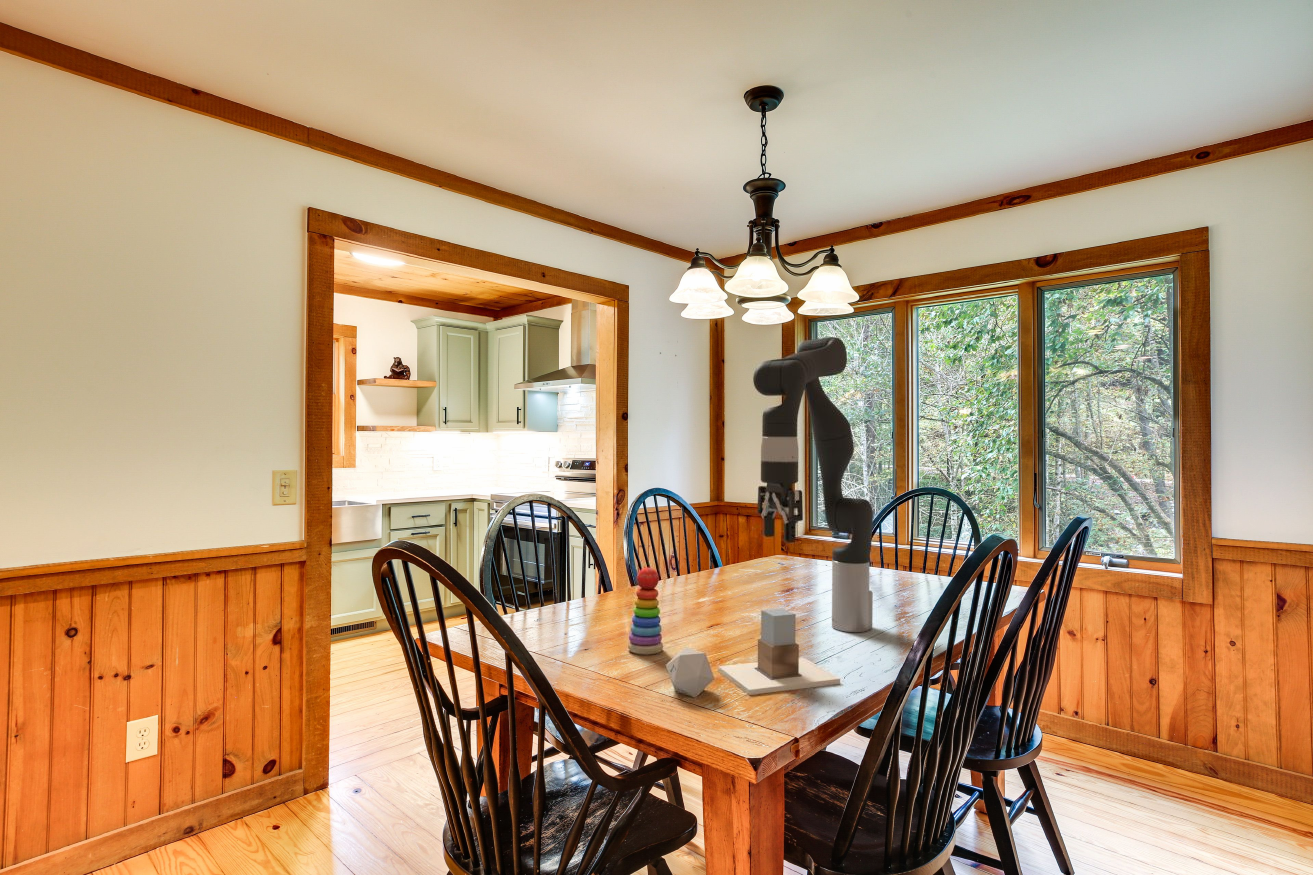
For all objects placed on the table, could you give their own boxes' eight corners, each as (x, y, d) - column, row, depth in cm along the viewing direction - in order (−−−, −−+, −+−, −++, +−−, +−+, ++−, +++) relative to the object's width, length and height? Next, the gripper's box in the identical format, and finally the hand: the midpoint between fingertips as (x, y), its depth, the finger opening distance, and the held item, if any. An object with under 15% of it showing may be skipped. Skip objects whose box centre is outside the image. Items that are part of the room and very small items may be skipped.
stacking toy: (650, 658, 151) (651, 572, 151) (621, 651, 156) (621, 568, 156) (669, 648, 158) (670, 567, 158) (640, 643, 162) (640, 563, 162)
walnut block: (783, 665, 144) (783, 636, 144) (798, 674, 138) (798, 644, 138) (757, 668, 142) (757, 638, 142) (771, 677, 136) (772, 647, 136)
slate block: (782, 637, 143) (782, 608, 143) (795, 643, 138) (795, 613, 138) (761, 639, 141) (761, 610, 141) (773, 646, 137) (773, 615, 137)
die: (673, 684, 137) (654, 652, 133) (711, 662, 138) (693, 630, 133) (686, 714, 130) (666, 681, 125) (726, 691, 130) (707, 657, 126)
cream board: (802, 661, 150) (802, 656, 150) (840, 683, 137) (840, 677, 137) (718, 671, 143) (718, 665, 143) (749, 695, 130) (749, 688, 130)
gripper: (814, 460, 134) (814, 543, 134) (778, 458, 148) (778, 534, 148) (780, 460, 132) (780, 545, 132) (746, 458, 145) (746, 535, 145)
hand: (778, 539), depth 140 cm, fingers open, 8 cm apart
